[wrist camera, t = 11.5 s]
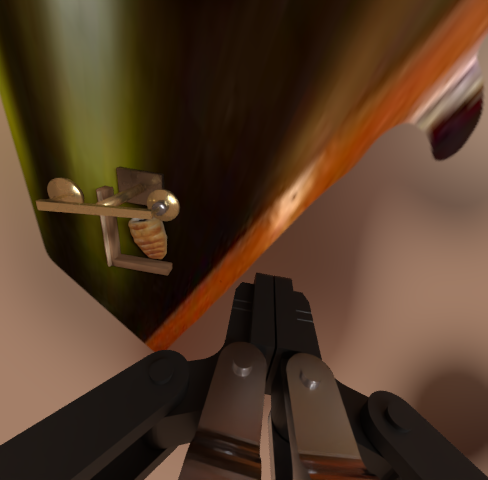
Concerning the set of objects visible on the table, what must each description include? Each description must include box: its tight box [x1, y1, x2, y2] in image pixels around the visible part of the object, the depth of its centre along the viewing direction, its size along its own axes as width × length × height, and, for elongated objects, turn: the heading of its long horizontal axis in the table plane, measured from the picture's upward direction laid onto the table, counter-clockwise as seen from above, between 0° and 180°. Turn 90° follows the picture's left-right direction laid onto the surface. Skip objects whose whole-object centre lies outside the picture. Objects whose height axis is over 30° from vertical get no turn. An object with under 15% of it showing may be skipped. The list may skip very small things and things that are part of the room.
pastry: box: [128, 216, 167, 259], centre depth 45 cm, size 9×7×4 cm
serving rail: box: [96, 186, 172, 275], centre depth 45 cm, size 16×13×3 cm
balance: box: [36, 167, 180, 221], centre depth 36 cm, size 19×6×14 cm, turn 82°
